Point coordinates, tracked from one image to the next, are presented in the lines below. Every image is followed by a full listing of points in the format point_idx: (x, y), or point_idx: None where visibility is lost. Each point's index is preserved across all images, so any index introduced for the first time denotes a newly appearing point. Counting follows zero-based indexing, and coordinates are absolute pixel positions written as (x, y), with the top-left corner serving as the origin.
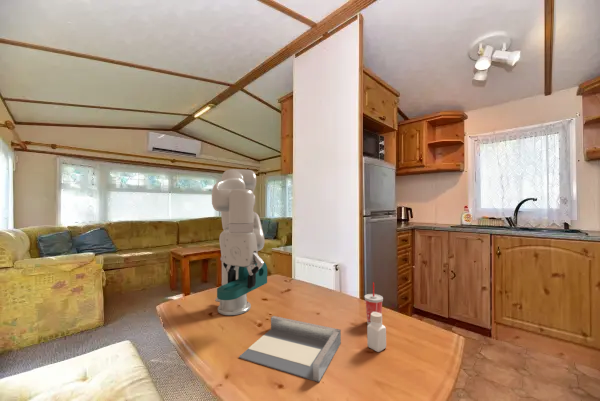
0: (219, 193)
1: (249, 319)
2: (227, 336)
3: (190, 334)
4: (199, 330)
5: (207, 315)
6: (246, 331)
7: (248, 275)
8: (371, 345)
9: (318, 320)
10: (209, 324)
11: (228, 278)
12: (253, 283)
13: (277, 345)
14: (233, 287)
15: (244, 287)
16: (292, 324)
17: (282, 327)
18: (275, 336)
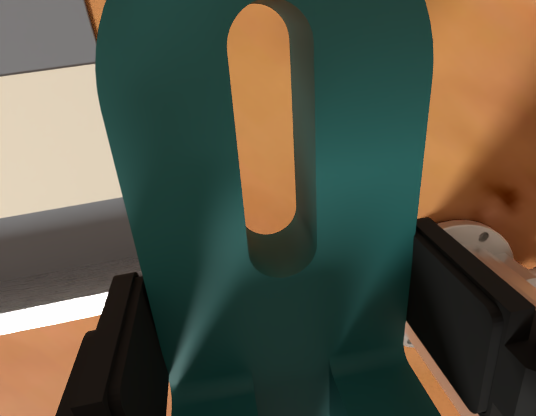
0: None
1: None
2: (288, 97)
3: (466, 6)
4: (451, 60)
5: (511, 179)
6: (243, 179)
7: (85, 405)
8: None
9: (48, 406)
10: (446, 127)
11: (457, 255)
12: (88, 350)
13: (6, 165)
14: (308, 198)
15: (133, 236)
16: (21, 302)
17: (88, 275)
18: (84, 217)
